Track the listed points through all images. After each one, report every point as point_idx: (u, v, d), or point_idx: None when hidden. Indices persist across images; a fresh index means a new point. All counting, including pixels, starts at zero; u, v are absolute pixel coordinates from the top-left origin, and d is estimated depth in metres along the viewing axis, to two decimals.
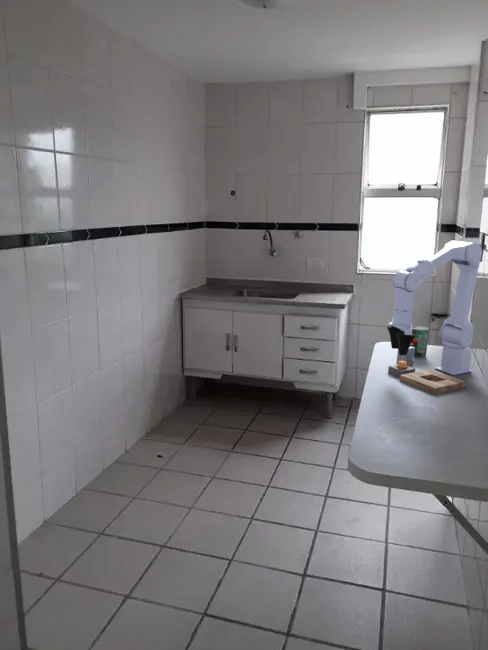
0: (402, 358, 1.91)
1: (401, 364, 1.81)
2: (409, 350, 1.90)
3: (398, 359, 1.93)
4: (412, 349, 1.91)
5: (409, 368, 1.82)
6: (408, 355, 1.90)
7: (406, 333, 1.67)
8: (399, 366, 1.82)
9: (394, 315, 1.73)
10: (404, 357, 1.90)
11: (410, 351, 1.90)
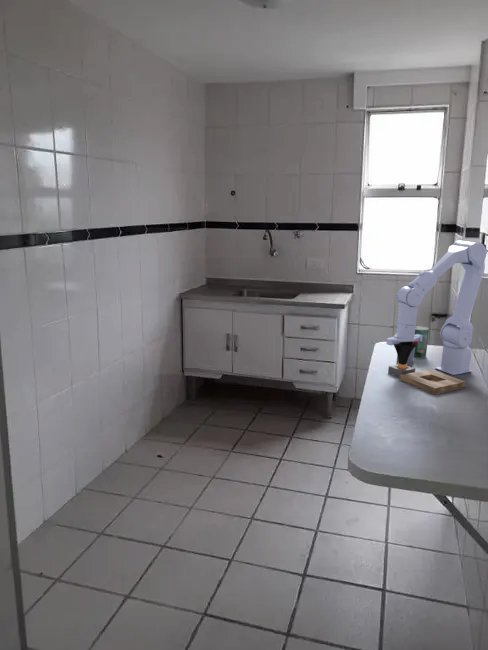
0: None
1: (401, 366, 1.82)
2: None
3: None
4: None
5: (409, 368, 1.82)
6: None
7: (387, 342, 1.78)
8: None
9: None
10: None
11: None
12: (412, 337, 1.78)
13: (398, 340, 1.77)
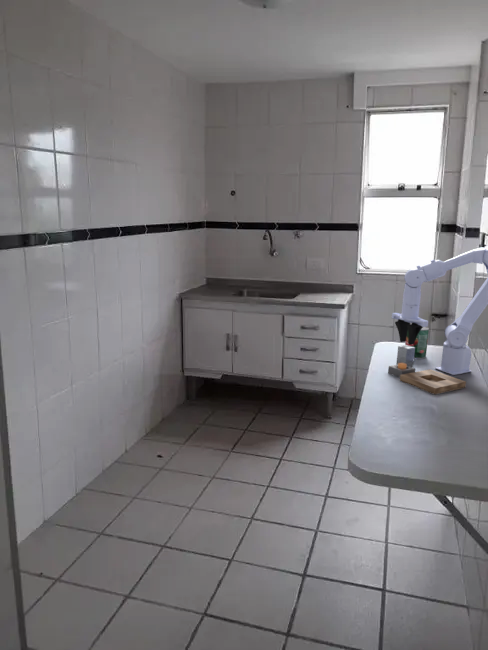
0: (402, 358, 1.91)
1: (401, 366, 1.82)
2: (409, 350, 1.90)
3: (398, 359, 1.93)
4: (412, 349, 1.91)
5: (409, 368, 1.82)
6: (408, 355, 1.90)
7: (424, 325, 1.83)
8: None
9: (406, 310, 1.87)
10: (404, 357, 1.90)
11: (410, 351, 1.90)
12: None
13: None
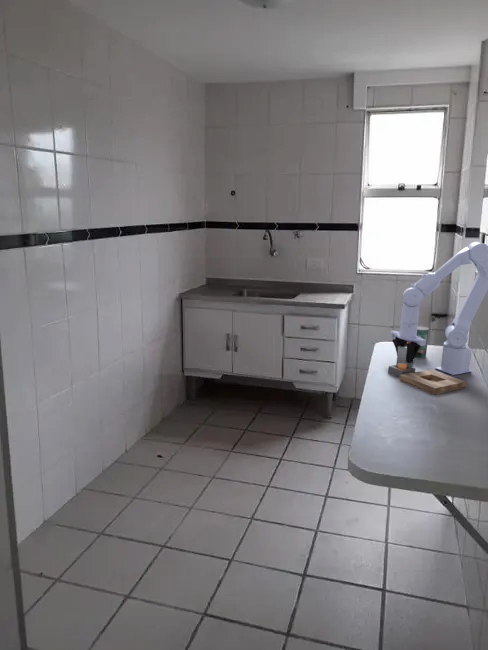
0: (402, 358, 1.91)
1: (401, 366, 1.82)
2: None
3: (398, 359, 1.93)
4: None
5: (409, 368, 1.82)
6: None
7: (422, 344, 1.85)
8: None
9: (404, 328, 1.88)
10: (404, 357, 1.90)
11: None
12: None
13: None
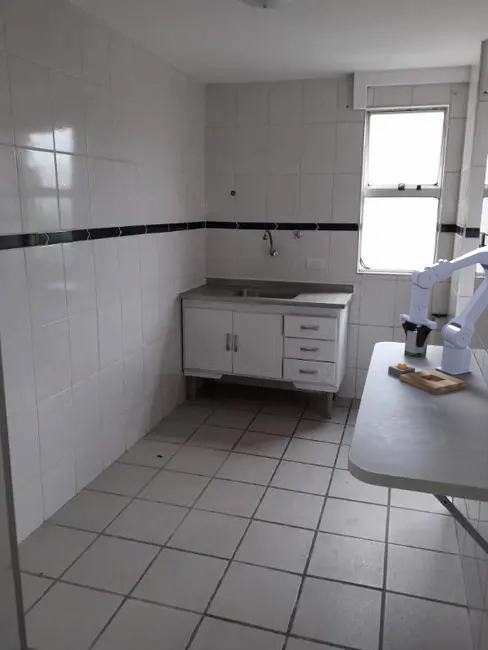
0: (411, 342, 1.84)
1: (401, 366, 1.82)
2: None
3: (407, 344, 1.86)
4: None
5: (409, 368, 1.82)
6: None
7: (433, 327, 1.78)
8: None
9: (414, 311, 1.81)
10: (414, 342, 1.83)
11: None
12: None
13: None
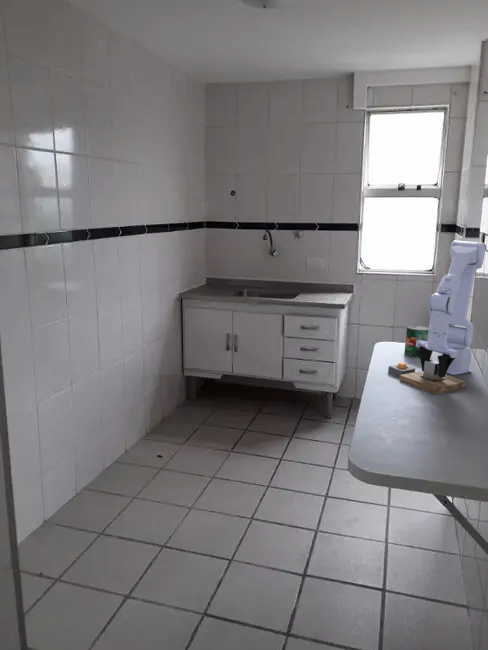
0: (429, 373, 1.72)
1: (401, 366, 1.82)
2: (437, 365, 1.71)
3: (425, 375, 1.74)
4: None
5: (409, 368, 1.82)
6: (436, 371, 1.71)
7: (453, 356, 1.66)
8: None
9: (433, 338, 1.69)
10: (432, 373, 1.71)
11: None
12: None
13: None
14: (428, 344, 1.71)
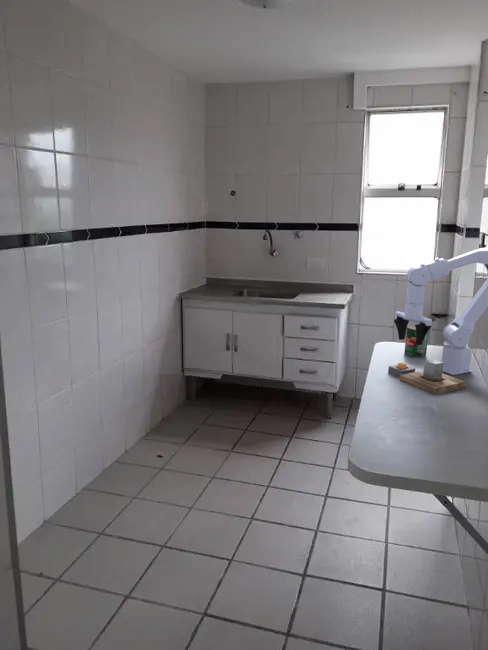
0: (429, 373, 1.72)
1: (401, 366, 1.82)
2: (437, 365, 1.71)
3: (425, 375, 1.74)
4: (441, 364, 1.72)
5: (409, 368, 1.82)
6: (436, 371, 1.71)
7: (428, 324, 1.80)
8: None
9: (409, 308, 1.84)
10: (432, 373, 1.71)
11: (439, 367, 1.72)
12: None
13: None
14: (405, 314, 1.86)
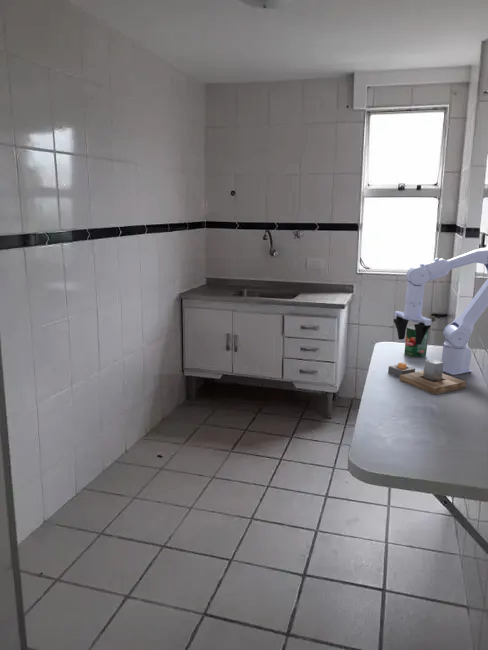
0: (429, 373, 1.72)
1: (401, 366, 1.82)
2: (437, 365, 1.71)
3: (425, 375, 1.74)
4: (441, 364, 1.72)
5: (409, 368, 1.82)
6: (436, 371, 1.71)
7: (427, 324, 1.81)
8: None
9: (409, 308, 1.84)
10: (432, 373, 1.71)
11: (439, 367, 1.72)
12: None
13: None
14: (405, 314, 1.86)
